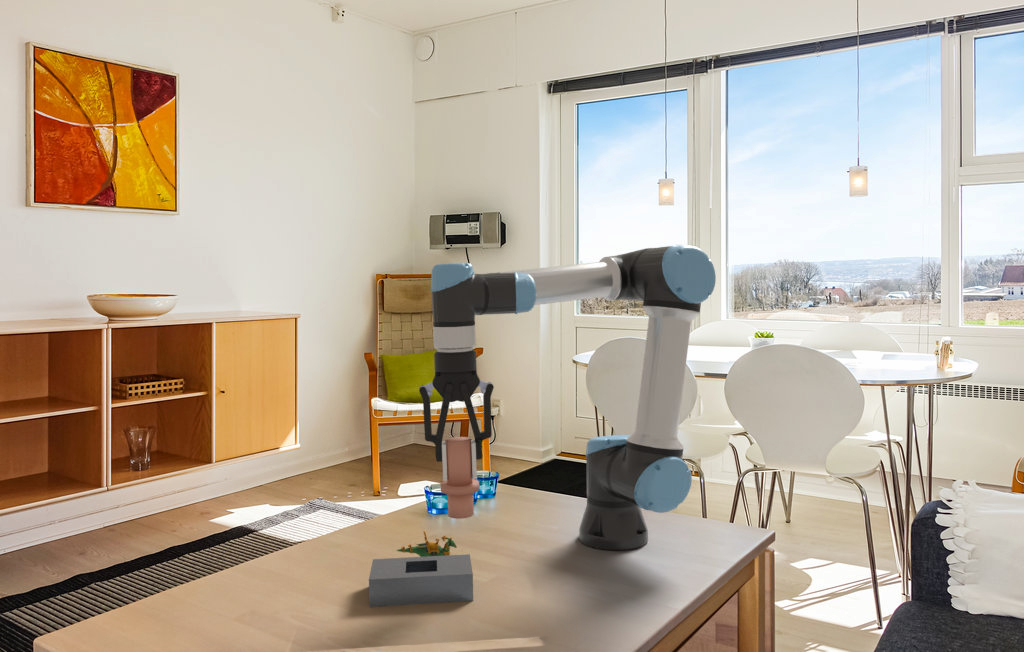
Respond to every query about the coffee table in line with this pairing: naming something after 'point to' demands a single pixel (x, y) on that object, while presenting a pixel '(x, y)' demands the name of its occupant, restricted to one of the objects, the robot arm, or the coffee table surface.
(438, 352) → the robot arm
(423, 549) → the figurine
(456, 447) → the flanged shaft
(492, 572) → the coffee table surface
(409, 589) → the housing
